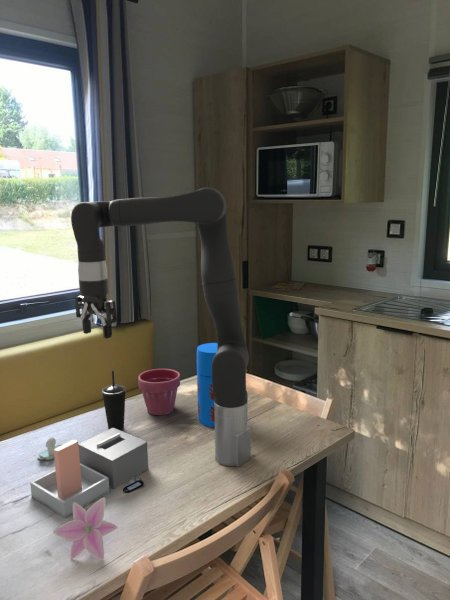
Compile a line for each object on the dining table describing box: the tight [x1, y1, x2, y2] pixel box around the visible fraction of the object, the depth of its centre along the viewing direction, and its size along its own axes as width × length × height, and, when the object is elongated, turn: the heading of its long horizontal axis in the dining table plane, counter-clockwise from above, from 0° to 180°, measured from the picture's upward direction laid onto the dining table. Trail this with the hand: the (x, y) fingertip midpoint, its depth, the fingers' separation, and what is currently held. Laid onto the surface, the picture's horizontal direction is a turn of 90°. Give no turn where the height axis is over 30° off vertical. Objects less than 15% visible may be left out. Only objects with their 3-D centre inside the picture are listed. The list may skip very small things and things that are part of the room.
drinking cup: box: [101, 369, 127, 432], centre depth 156 cm, size 8×8×20 cm
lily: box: [53, 496, 118, 561], centre depth 106 cm, size 12×12×10 cm
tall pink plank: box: [53, 439, 82, 500], centre depth 123 cm, size 2×6×13 cm, turn 145°
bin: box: [29, 463, 110, 519], centre depth 124 cm, size 14×13×4 cm
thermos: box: [196, 342, 217, 428], centre depth 162 cm, size 11×11×25 cm
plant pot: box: [137, 368, 181, 416], centre depth 171 cm, size 14×14×13 cm
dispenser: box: [78, 428, 149, 490], centre depth 135 cm, size 14×12×9 cm
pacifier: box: [37, 437, 63, 461], centre depth 142 cm, size 7×6×6 cm
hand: (97, 335), depth 137 cm, fingers open, 8 cm apart
